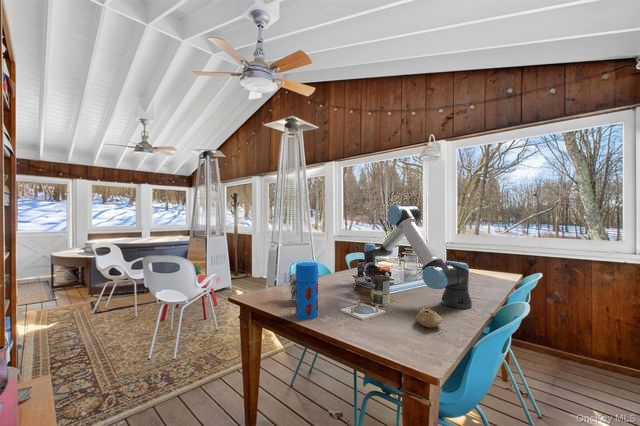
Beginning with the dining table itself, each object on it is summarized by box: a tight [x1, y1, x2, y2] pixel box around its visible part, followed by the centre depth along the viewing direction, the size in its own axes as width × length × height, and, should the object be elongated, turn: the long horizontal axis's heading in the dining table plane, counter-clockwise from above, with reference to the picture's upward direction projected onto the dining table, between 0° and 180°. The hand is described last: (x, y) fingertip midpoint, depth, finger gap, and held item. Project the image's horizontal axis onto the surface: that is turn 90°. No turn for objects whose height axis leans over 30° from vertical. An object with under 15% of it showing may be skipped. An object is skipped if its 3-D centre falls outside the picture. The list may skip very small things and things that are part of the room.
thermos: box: [295, 261, 319, 320], centre depth 142 cm, size 11×11×25 cm
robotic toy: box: [287, 273, 296, 301], centre depth 164 cm, size 13×17×15 cm
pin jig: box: [339, 299, 386, 321], centre depth 147 cm, size 16×16×4 cm
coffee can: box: [370, 275, 391, 307], centre depth 161 cm, size 10×10×14 cm
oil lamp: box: [415, 306, 443, 329], centre depth 131 cm, size 11×15×8 cm
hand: (376, 276), depth 171 cm, fingers open, 13 cm apart
